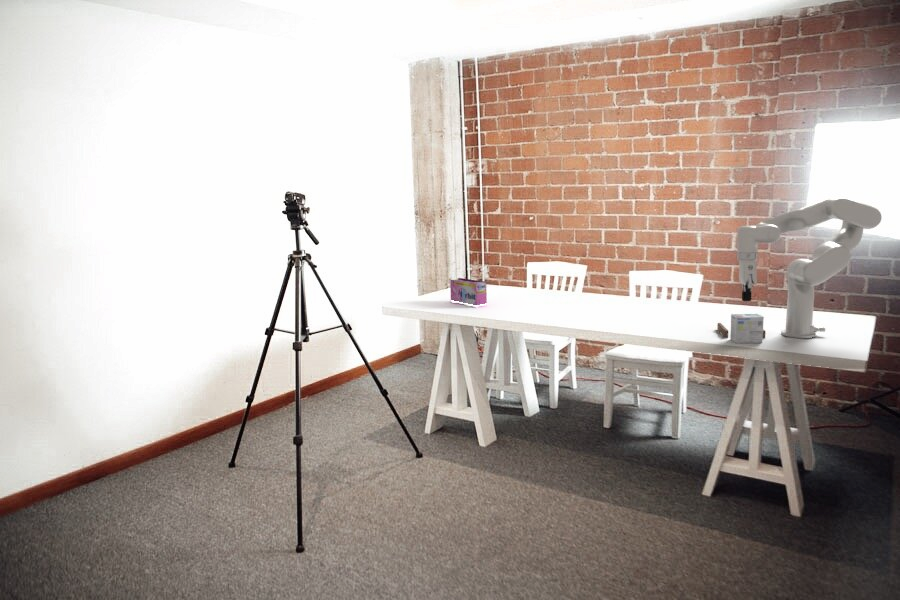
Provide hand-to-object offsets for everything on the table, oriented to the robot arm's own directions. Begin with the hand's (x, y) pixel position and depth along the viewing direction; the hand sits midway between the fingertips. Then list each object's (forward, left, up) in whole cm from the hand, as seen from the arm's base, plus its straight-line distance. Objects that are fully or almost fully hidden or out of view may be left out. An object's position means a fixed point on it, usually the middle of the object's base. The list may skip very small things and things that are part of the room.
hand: (746, 300), depth 263 cm
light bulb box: (+2, +8, -15) cm, 18 cm away
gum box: (+128, -69, -15) cm, 146 cm away
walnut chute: (+1, -4, -15) cm, 16 cm away
